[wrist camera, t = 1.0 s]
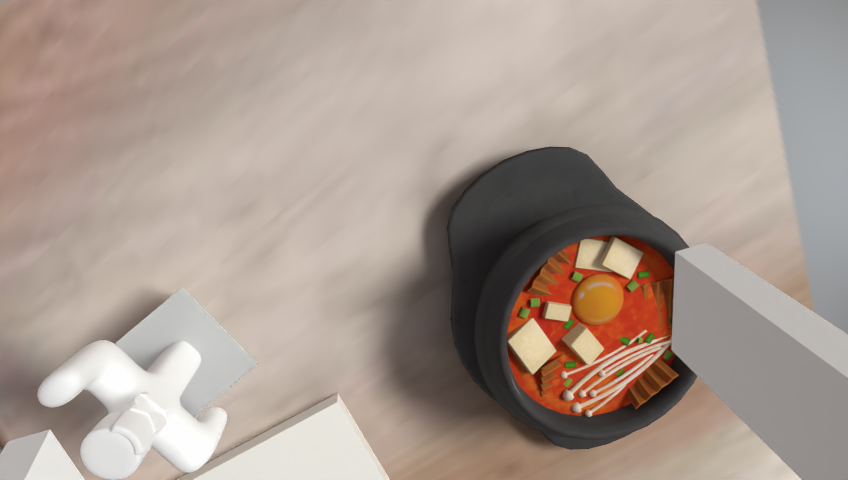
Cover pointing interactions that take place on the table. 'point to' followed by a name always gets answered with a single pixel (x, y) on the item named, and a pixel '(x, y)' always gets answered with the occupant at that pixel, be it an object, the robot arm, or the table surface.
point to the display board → (301, 450)
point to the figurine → (153, 389)
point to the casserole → (565, 298)
